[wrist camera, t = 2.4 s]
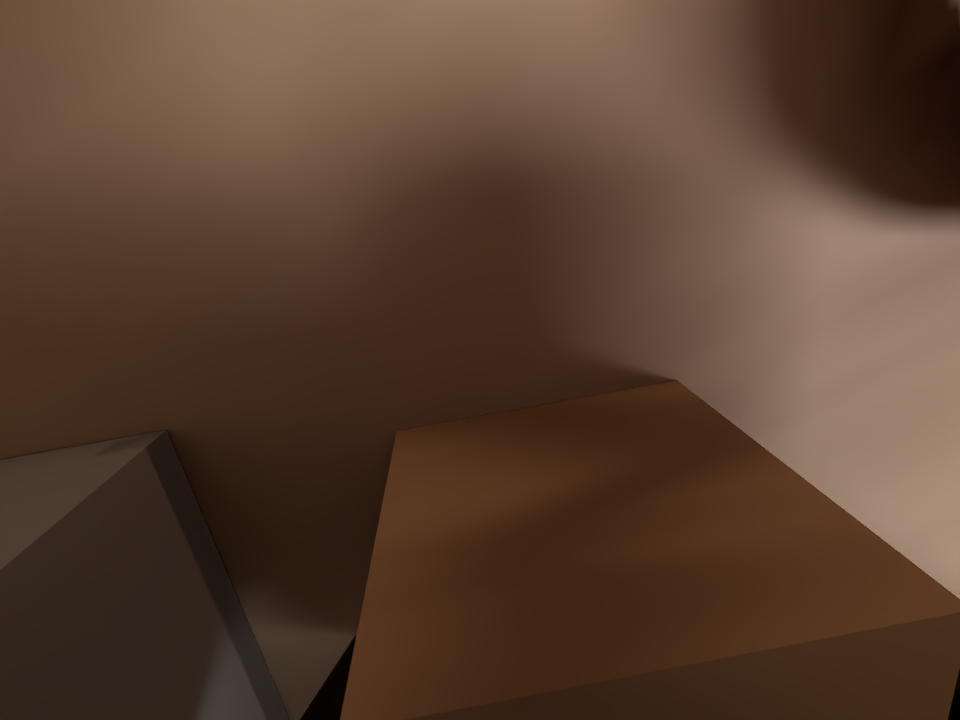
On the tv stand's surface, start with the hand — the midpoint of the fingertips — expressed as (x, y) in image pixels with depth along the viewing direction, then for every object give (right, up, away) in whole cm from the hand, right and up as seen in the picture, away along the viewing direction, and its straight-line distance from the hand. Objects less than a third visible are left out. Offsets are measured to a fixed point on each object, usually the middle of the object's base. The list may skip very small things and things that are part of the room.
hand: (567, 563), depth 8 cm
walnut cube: (0, 0, +1) cm, 1 cm away
